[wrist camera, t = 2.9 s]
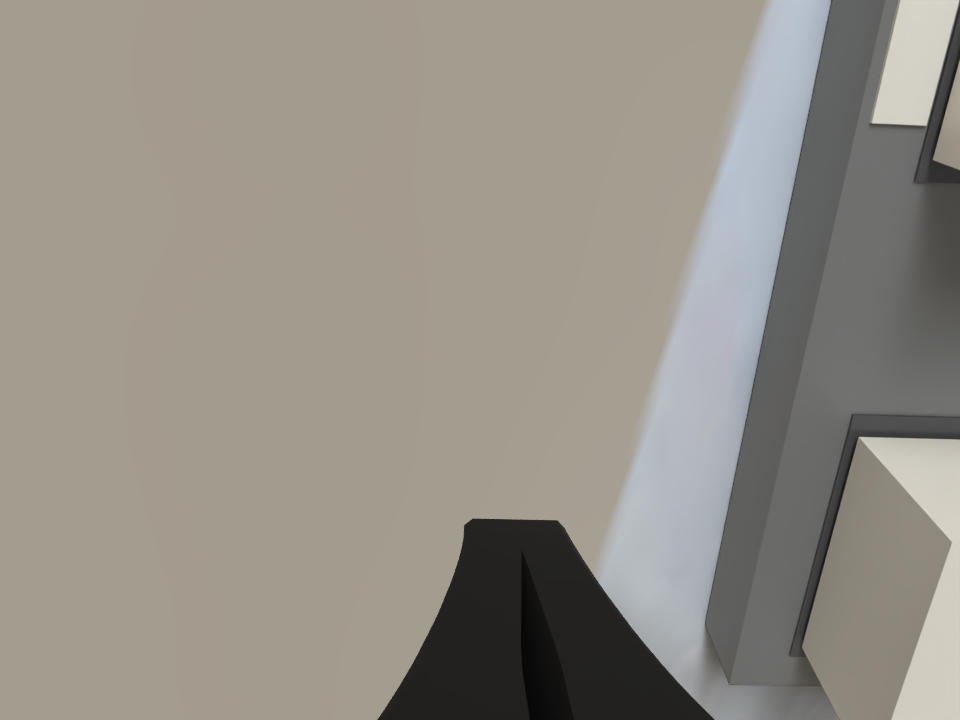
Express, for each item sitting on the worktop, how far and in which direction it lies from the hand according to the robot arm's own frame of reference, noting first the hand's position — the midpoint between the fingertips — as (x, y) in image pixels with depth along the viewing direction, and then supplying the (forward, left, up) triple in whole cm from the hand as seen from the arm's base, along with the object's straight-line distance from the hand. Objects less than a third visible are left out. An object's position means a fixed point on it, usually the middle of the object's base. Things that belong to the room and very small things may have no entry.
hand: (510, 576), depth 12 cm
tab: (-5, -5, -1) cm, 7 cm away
